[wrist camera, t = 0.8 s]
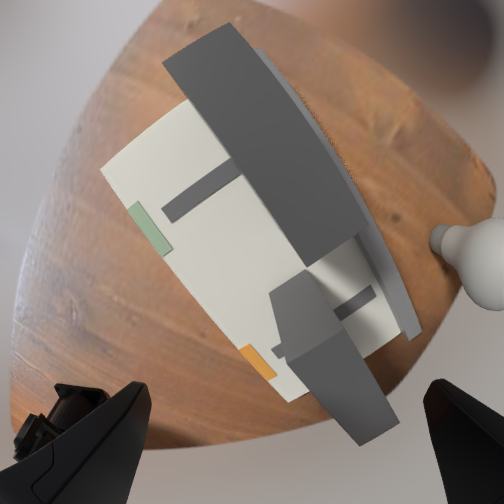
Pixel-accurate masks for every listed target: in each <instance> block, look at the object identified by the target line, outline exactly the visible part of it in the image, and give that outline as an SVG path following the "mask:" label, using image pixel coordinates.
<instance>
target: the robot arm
mask: <svg viewBox="0 0 504 504" xmlns="http://www.w3.org/2000/svg"><path fill="white" fill-rule="evenodd" d="M54 388H55V390H56V392H57V394H58V396H59V399H58V401H57V402H56V404H55V405H54V407H53V409H52V410H51V412H50V413H49V415H48V417H47V418H45V416H44V415H43V414H42V413H40V414H39V416H37V415H33V414H31V413H30V415H29V416H28V418H27V419H26V421H25V422H24V424H23V425H22V427H21V429H20V430H19V432H18V434H17V436H16V438H15V439H14V444H15V450H14V451H15V454H14V456H13V458H14V459H15V460H16V461H17V462H18V463H16V464H14V465H12V466H10V467H8V468H6V469H4V470H2V471H0V504H126V502H127V499H128V496H129V493H130V489H131V486H132V483H133V479H134V476H135V473H136V470H137V467H138V464H139V460H140V457H141V454H142V451H143V447H144V442H145V437H146V432H147V427H148V422H149V417H150V412H151V406H152V402H151V398H150V394H149V391H148V387H147V385H146V384H145V383H142V382H136V381H133V382H131V383H130V384H128V385H127V386H126V387H124V388H123V389H122V390H120V391H119V392H118V393H116V394H115V395H114V396H113V397H111V398H110V399H109V400H106V397H105V395H104V393H103V392H102V391H101V390H100V389H95V388H86V387H78V386H71V385H64V384H56V385H55V386H54ZM423 403H424V409H425V413H426V418H427V423H428V427H429V433H430V437H431V441H432V445H433V448H434V451H435V455H436V458H437V462H438V465H439V469H440V473H441V477H442V481H443V485H444V489H445V493H446V497H447V502H448V504H504V417H503V416H501V415H500V414H498V413H497V412H495V411H494V410H492V409H490V408H489V407H487V406H486V405H484V404H483V403H481V402H480V401H478V400H477V399H475V398H473V397H472V396H470V395H469V394H467V393H466V392H464V391H462V390H461V389H459V388H458V387H456V386H455V385H453V384H452V383H450V382H448V381H447V380H445V379H437V380H434V381H433V382H432V383H431V384H430V386H429V388H428V390H427V392H426V394H425V396H424V399H423Z"/></svg>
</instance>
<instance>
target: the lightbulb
mask: <svg viewBox="0 0 504 504" xmlns="http://www.w3.org/2000/svg"><path fill="white" fill-rule="evenodd" d="M429 240H430V247H431V249H432V250H433V251H434V252H436V253H437V254H438V255H440V256H442V257H443V258H444V260H445V261H446V262H447V263H449V264H450V265H452V266H453V267H454V268H455V269H456V271H457V272H458V275H459V278H460V280H461V282H462V285H463V287H464V289H465V291H466V293H467V295H468V296H469V297H470V298H471V299H472V300H473V302H474V303H476V304H477V305H478V306H480V307H482V308H484V309H487V310H492V311H502V310H504V218H500V217H499V218H490V219H487V220H485V221H482V222H480V223H478V224H476V225H474V226H470V227H464V226H460V225H455V226H450V225H446V224H439V225H437V226H436V227H434V229H433V230H432V232H431V234H430V239H429Z"/></svg>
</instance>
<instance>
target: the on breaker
mask: <svg viewBox="0 0 504 504" xmlns="http://www.w3.org/2000/svg"><path fill="white" fill-rule="evenodd" d="M162 64H163V65H164V67H165V68H166V69H167V71H168V72H169V74H170V75H171V76H172V78H173V79H174V81H175V82H176V83H177V85H178V86H179V88H180V89H181V90H182V92H183V93H184V95H185V96H186V97H187V99H188V100H189V102H190V103H191V105H192V106H193V107H194V109H195V110H196V111H197V113H198V114H199V115H200V117H201V118H202V120H203V121H204V122H205V124H206V125H207V126H208V128H209V129H210V131H211V132H212V133H213V135H214V136H215V137H216V139H217V140H218V142H219V143H220V144H221V146H222V147H223V149H224V150H225V151H226V153H227V154H228V156H229V157H230V158H231V160H232V161H233V163H234V164H235V165H236V167H237V168H238V170H239V171H240V173H241V174H242V175H243V177H244V178H245V180H246V181H247V183H248V184H249V185H250V187H251V188H252V190H253V191H254V193H255V194H256V196H257V197H258V198H259V200H260V201H261V203H262V204H263V206H264V207H265V209H266V210H267V212H268V213H269V215H270V216H271V218H272V219H273V220H274V222H275V223H276V225H277V226H278V228H279V229H280V231H281V232H282V234H283V235H284V236H285V238H286V239H287V241H288V242H289V243H290V245H291V246H292V248H293V249H294V250H295V252H296V253H297V255H298V256H299V258H300V259H301V260H302V262H303V263H304V265H305V266H306V268H308V267H309V266H311V265H312V264H314V263H315V262H317V261H318V260H319V259H321V258H322V257H324V256H325V255H327V254H328V253H330V252H331V251H333V250H334V249H336V248H337V247H339V246H340V245H341V244H343V243H344V242H346V241H347V240H349V239H350V238H352V237H353V236H354V235H356V234H357V233H359V232H360V231H362V230H363V229H364V228H366V227H367V226H369V223H368V221H367V219H366V218H365V216H364V214H363V212H362V210H361V208H360V206H359V205H358V203H357V201H356V199H355V197H354V196H353V194H352V192H351V190H350V189H349V187H348V185H347V183H346V182H345V180H344V178H343V176H342V175H341V173H340V171H339V170H338V168H337V166H336V165H335V163H334V162H333V160H332V158H331V157H330V155H329V153H328V152H327V150H326V149H325V147H324V146H323V144H322V142H321V141H320V139H319V138H318V136H317V135H316V133H315V132H314V130H313V129H312V127H311V126H310V124H309V123H308V121H307V120H306V118H305V117H304V115H303V114H302V113H301V111H300V110H299V108H298V107H297V106H296V104H295V103H294V101H293V100H292V99H291V97H290V96H289V94H288V93H287V92H286V90H285V89H284V88H283V86H282V85H281V84H280V82H279V81H278V80H277V78H276V77H275V76H274V75H273V73H272V72H271V71H270V69H269V68H268V67H267V66H266V64H265V63H264V62H263V61H262V59H261V58H260V57H259V56H258V54H257V53H256V52H255V51H254V50H253V48H252V47H251V46H250V45H249V44H248V43H247V41H246V40H245V39H244V38H243V37H242V36H241V34H240V33H239V32H238V31H237V30H236V29H235V28H234V27H233V25H232V24H231V23H230V22H229V23H227V24H225V25H223V26H221V27H219V28H217V29H216V30H214V31H212V32H210V33H208V34H207V35H205V36H203V37H201V38H200V39H198V40H196V41H195V42H193V43H191V44H190V45H188V46H186V47H185V48H183V49H182V50H180V51H179V52H177V53H176V54H174V55H172V56H171V57H169V58H168V59H167V60H165V61H164V62H162Z"/></svg>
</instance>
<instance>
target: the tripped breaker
mask: <svg viewBox="0 0 504 504" xmlns="http://www.w3.org/2000/svg"><path fill="white" fill-rule="evenodd" d="M269 297H270V301H271V305H272V309H273V312H274V316H275V320H276V324H277V328H278V332H279V336H280V340H281V344H282V348H283V352H284V356H285V360H286V364H287V365H288V366H289V368H290V369H291V370H292V371H293V372H294V373H295V375H296V376H297V377H298V378H299V379H300V380H301V382H302V383H303V384H304V385H305V386H306V387H307V389H308V390H309V391H310V392H311V393H312V394H313V395H314V397H315V398H316V399H317V400H318V401H319V402H320V403H321V405H322V406H323V407H324V408H325V409H326V410H327V411H328V412H329V414H330V415H331V416H332V417H333V418H334V419H335V420H336V421H337V422H338V423H339V425H340V426H341V427H342V428H343V429H344V430H345V431H346V432H347V433H348V434H349V436H350V437H351V438H352V439H353V440H354V441H355V442H356V443H357V444H358V445H359V446H362V445H363V444H365V443H367V442H369V441H371V440H372V439H374V438H376V437H378V436H379V435H381V434H383V433H384V432H386V431H388V430H389V429H391V428H393V427H394V426H396V425H397V424H399V423H400V422H399V420H398V418H397V416H396V415H395V413H394V411H393V409H392V408H391V406H390V404H389V402H388V401H387V399H386V397H385V395H384V394H383V392H382V390H381V388H380V387H379V385H378V383H377V381H376V380H375V378H374V376H373V375H372V373H371V371H370V369H369V368H368V366H367V364H366V363H365V361H364V359H363V358H362V356H361V354H360V353H359V351H358V349H357V348H356V346H355V344H354V343H353V341H352V339H351V338H350V336H349V334H348V333H347V331H346V330H345V328H344V326H343V325H342V323H341V322H340V320H339V319H338V317H337V316H336V314H335V313H334V311H333V309H332V308H331V306H330V305H329V303H328V302H327V300H326V299H325V297H324V296H323V294H322V293H321V291H320V290H319V288H318V287H317V285H316V284H315V282H314V281H313V279H312V278H311V276H310V275H309V273H308V272H307V270H306V269H304V270H303V271H301V272H300V273H298V274H297V275H295V276H294V277H292V278H291V279H289V280H288V281H286V282H285V283H283V284H282V285H280V286H278V287H277V288H275V289H274V290H272V291H271V292H269Z"/></svg>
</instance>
